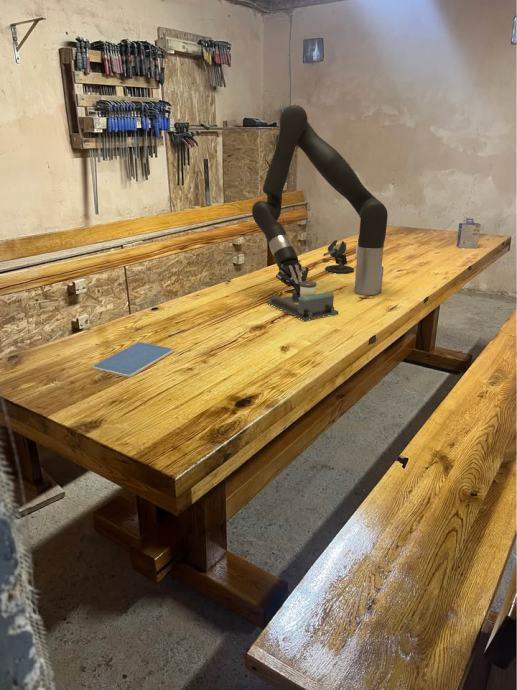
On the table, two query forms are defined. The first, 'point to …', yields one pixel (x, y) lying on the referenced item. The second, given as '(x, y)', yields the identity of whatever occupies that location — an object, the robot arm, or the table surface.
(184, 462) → the table surface
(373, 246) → the robot arm
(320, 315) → the knob mount
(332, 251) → the gun turret
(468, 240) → the ink cartridge box
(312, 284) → the knob carriage
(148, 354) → the tablet computer
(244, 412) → the table surface
